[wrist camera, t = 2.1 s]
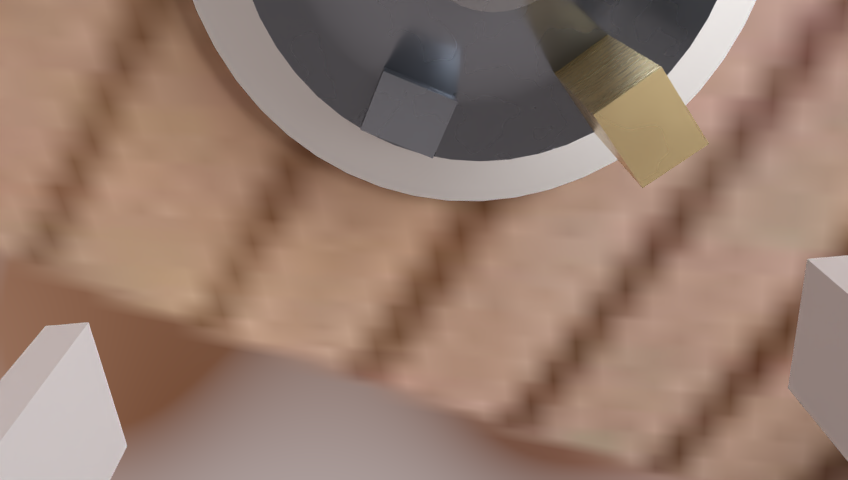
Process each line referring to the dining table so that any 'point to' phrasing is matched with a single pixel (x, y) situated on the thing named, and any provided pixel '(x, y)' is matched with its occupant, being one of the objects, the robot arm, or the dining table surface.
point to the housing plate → (410, 171)
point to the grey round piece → (500, 73)
